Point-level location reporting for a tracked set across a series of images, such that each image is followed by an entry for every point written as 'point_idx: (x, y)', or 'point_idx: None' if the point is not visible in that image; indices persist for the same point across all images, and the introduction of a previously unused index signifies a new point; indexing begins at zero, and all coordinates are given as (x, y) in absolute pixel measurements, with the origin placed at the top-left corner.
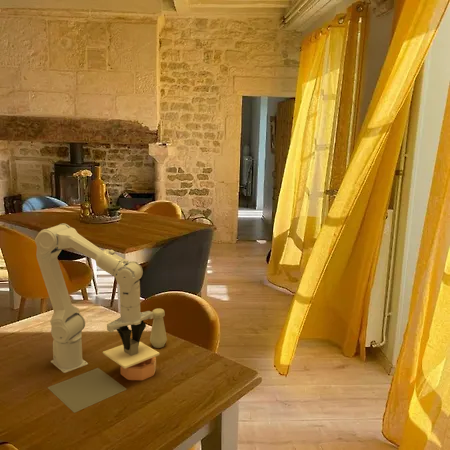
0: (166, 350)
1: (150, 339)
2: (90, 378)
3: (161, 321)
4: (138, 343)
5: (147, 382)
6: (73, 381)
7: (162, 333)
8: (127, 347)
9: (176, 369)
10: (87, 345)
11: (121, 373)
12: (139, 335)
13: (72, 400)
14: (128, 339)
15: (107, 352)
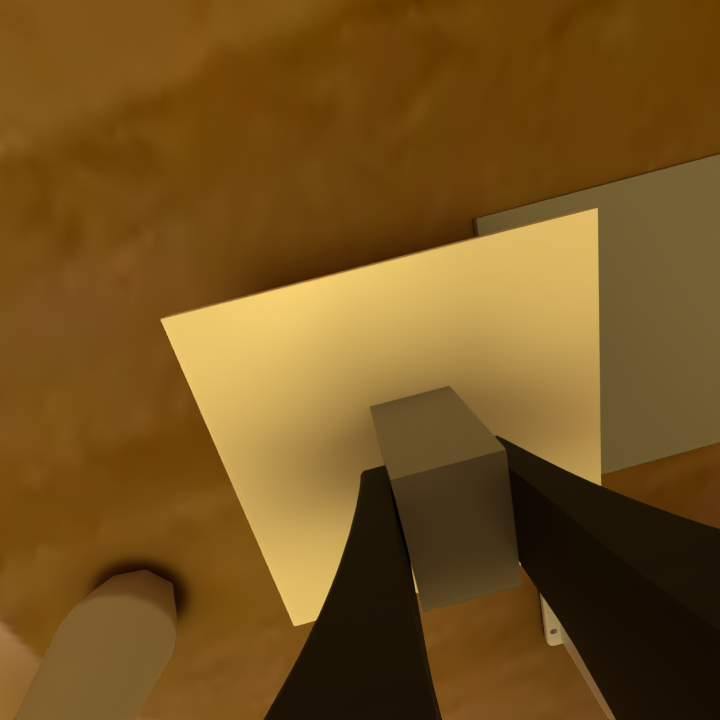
0: (108, 535)
1: (171, 642)
2: None
3: None
4: (369, 486)
5: (331, 246)
6: (660, 428)
7: (59, 670)
8: (520, 449)
9: (100, 306)
10: (466, 684)
11: None
12: (377, 575)
13: None
14: (608, 511)
15: None
